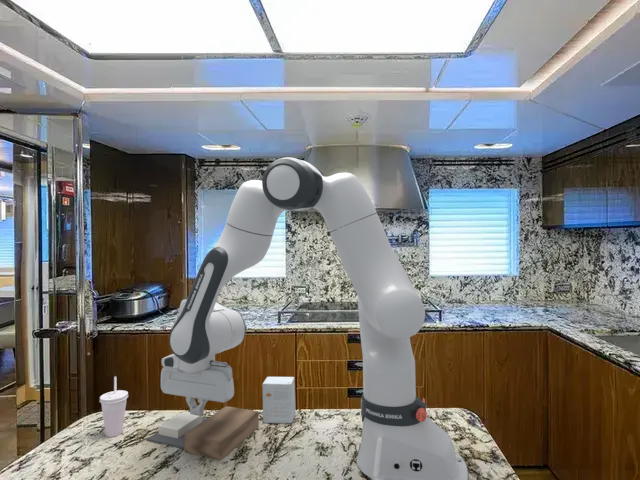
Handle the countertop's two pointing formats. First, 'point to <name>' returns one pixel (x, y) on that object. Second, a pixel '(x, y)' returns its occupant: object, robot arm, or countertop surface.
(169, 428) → the tile
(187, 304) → the robot arm
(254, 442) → the countertop surface
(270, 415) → the small box
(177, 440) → the mat
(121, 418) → the smoothie
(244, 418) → the brown wooden block
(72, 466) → the countertop surface
